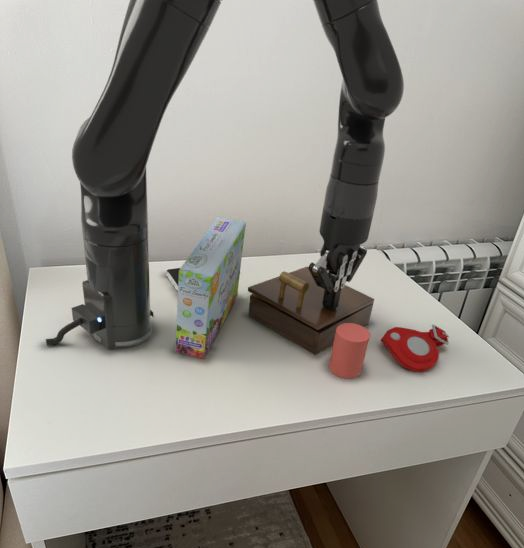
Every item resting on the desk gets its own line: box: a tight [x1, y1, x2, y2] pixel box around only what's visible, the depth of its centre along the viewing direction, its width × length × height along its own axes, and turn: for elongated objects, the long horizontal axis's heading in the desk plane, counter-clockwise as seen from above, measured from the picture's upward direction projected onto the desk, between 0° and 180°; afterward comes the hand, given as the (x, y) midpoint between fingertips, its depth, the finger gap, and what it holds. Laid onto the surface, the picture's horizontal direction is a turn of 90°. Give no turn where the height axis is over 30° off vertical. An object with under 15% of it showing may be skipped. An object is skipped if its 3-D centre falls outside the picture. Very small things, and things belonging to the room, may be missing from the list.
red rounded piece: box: [380, 324, 450, 373], centre depth 90 cm, size 12×4×10 cm
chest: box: [248, 293, 374, 356], centre depth 95 cm, size 16×16×4 cm
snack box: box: [174, 216, 247, 360], centre depth 88 cm, size 21×6×15 cm, turn 168°
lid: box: [247, 266, 375, 330], centre depth 92 cm, size 16×16×5 cm
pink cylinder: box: [328, 323, 371, 379], centre depth 83 cm, size 5×5×7 cm
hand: (329, 307), depth 89 cm, fingers closed
